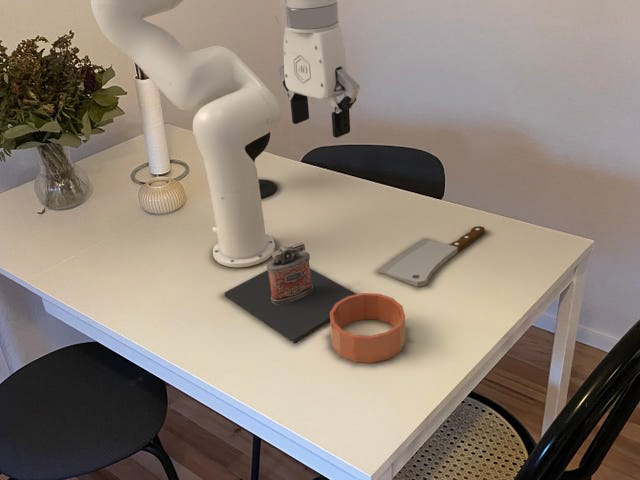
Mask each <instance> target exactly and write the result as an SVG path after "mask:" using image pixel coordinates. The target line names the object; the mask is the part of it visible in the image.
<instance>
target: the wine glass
mask: <svg viewBox="0 0 640 480" xmlns="http://www.w3.org/2000/svg"><path fill="white" fill-rule="evenodd" d="M270 139H271V132H269V133H267V134H266V135H264V136H262V137H260V138H258V139H256V140H254V141H252V142H251V143H249V144H247V145H246V146H245V151H246V153H247V154H248V156H249V157H250V158H251V159H252V160H253V162H254V163H255V164H256V162H255V161H256V159H257V158H258V157H259V156H260V155H262V154H263V152H264V151H265V149H266V148H267V147H268V145H269V142H270ZM258 180H259V188H260V195H261V200H262V199H266V198H269V197H270V196H273V195H274V194H275V193H276V192H277V190H278V185H277V184H276V183H275V182H274V181H272V180H269V179H263V178H262V179H259V178H258Z"/></svg>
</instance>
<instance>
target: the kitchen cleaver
mask: <svg viewBox="0 0 640 480" xmlns="http://www.w3.org/2000/svg"><path fill="white" fill-rule="evenodd" d="M485 232H486V228H485V227H484V226H482V225H480V226H479V225H477V226H473V227H471V229H470V231H469V232H467V233H464V234H463V235H461V237H460V238H459V239H457V240H455V241H452V242H451V243H444V242H439V241H434V240H429V239H423V240H422V241H420V242H418V243H417V244H415V245H413V246H412V247H411V248H409V249H407V250H406V251H404V252H403V253H401V254H400V255H398V256H397V257H396V258H394V259H393V260H391V262H389V263H388V264H386V265H385V266H384V267H382V269H380V270H379V273H380V274H382V275H386V276H388V277H391V278H394V279H396V280H399V281H401V282H403V283H407V284H408V285H411V286H414V287H417V288H419V287H424V286H427V284H428V282H429V281H430V278H431V277H432V276H433V274H435V272H436V271H437V270H438V269H439V268H440V267H441V266H442V265H444V263H446V262H447V261H448V260H449V259H451V258H452V257H453V256H455V255H457V254H458V253H459V252H461V250H463V249H464V248H466V247H467V246H468V245H470V244H471V243H473V242H474V241H475V240H477V239H479V238H480V237H481V236H483V235H484V234H485Z"/></svg>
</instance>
